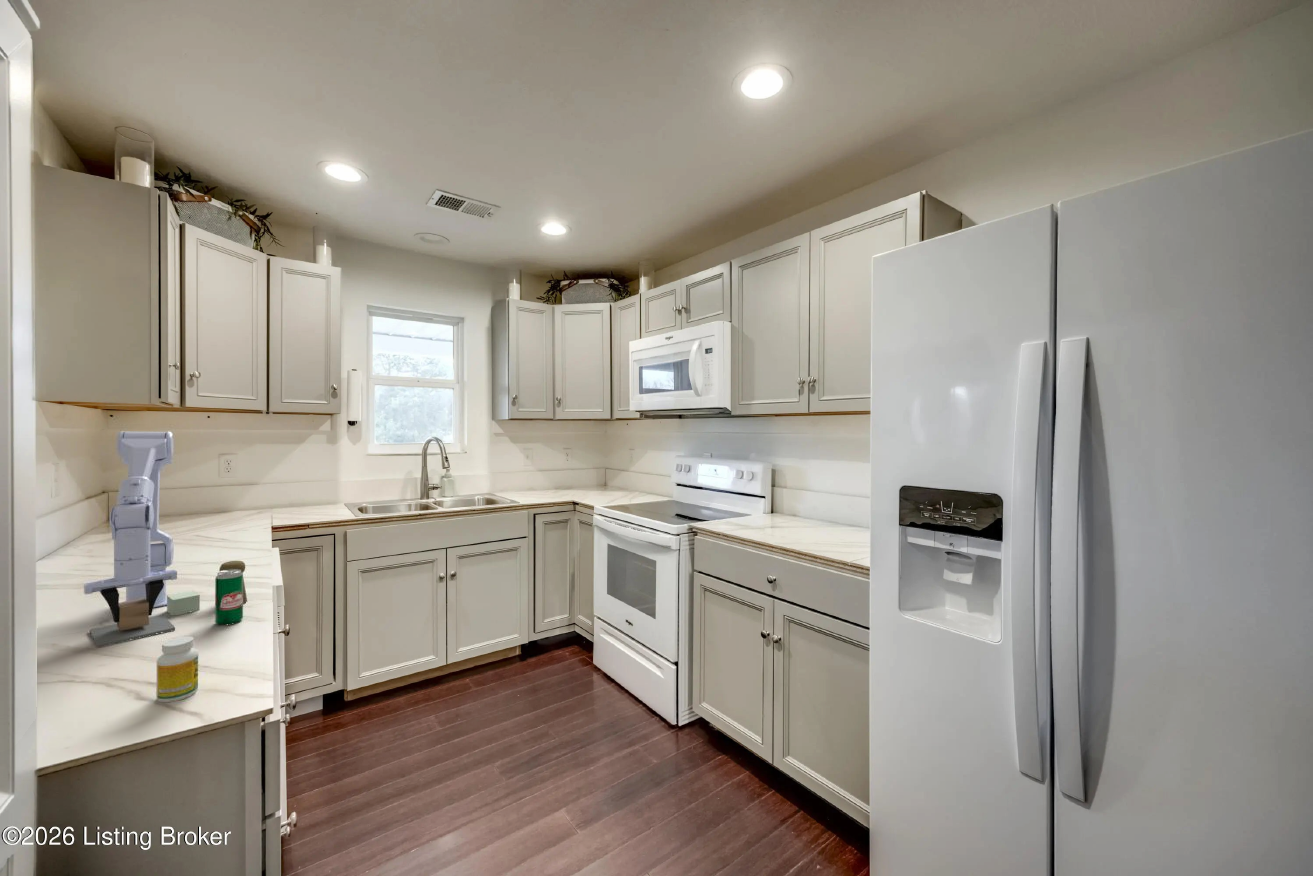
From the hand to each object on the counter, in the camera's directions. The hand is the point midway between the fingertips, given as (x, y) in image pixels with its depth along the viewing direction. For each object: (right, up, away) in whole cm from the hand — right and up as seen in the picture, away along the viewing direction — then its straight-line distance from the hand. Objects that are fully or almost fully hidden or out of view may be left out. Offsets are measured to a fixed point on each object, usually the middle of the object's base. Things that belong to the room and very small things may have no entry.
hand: (132, 617), depth 116 cm
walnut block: (0, -2, 0) cm, 2 cm away
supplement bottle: (+33, -5, -25) cm, 42 cm away
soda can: (+16, -4, +7) cm, 18 cm away
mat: (0, -3, 0) cm, 3 cm away
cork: (+7, -3, +18) cm, 20 cm away
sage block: (0, -3, +13) cm, 13 cm away
